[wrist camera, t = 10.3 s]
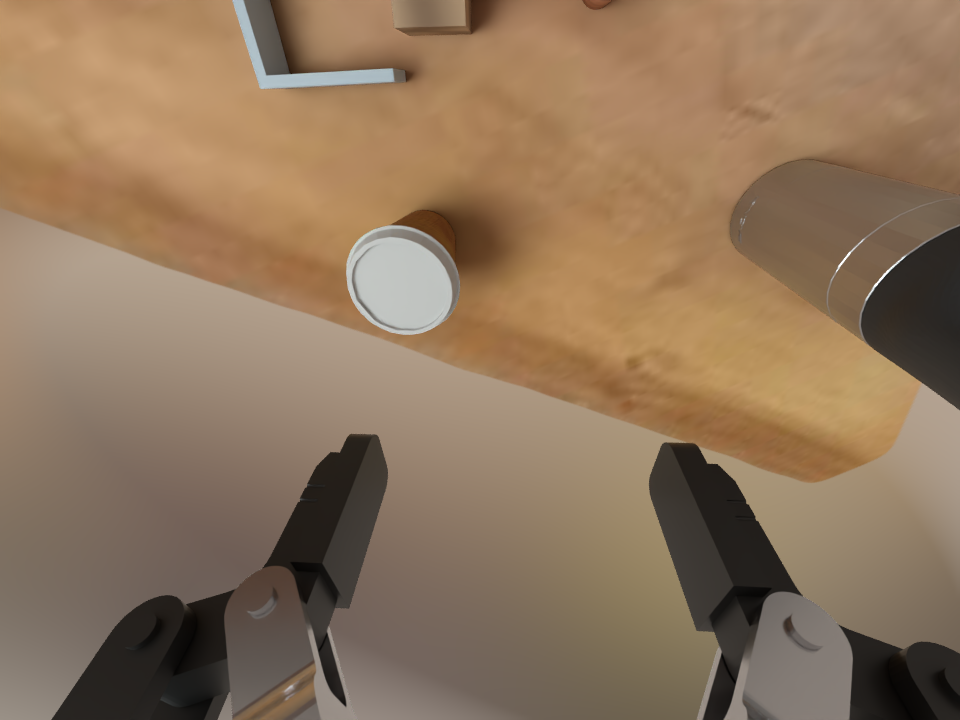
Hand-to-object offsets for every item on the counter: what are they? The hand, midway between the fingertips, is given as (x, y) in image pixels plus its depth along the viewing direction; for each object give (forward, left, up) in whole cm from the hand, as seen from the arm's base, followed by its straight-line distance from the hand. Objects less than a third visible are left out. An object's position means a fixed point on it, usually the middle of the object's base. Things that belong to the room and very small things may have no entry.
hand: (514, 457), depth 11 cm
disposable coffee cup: (+9, +4, -32) cm, 34 cm away
